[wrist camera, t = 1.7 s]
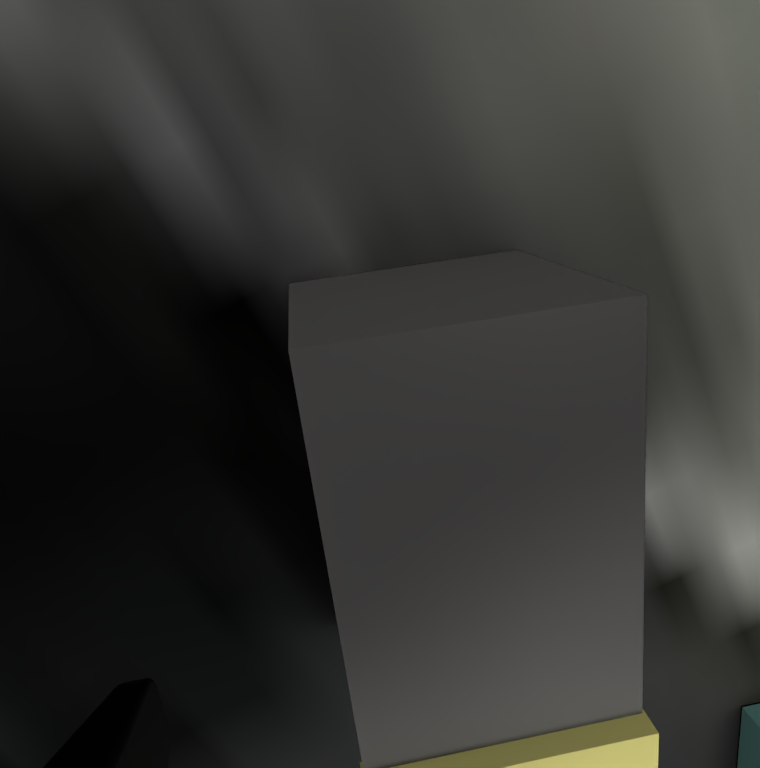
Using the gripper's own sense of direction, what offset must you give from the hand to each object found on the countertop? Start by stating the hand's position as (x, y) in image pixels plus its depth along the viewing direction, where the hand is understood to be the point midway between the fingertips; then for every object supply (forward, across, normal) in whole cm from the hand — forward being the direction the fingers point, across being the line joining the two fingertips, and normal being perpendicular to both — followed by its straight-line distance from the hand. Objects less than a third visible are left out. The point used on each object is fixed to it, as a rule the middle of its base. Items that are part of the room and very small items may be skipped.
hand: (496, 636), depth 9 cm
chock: (+6, 0, 0) cm, 6 cm away
